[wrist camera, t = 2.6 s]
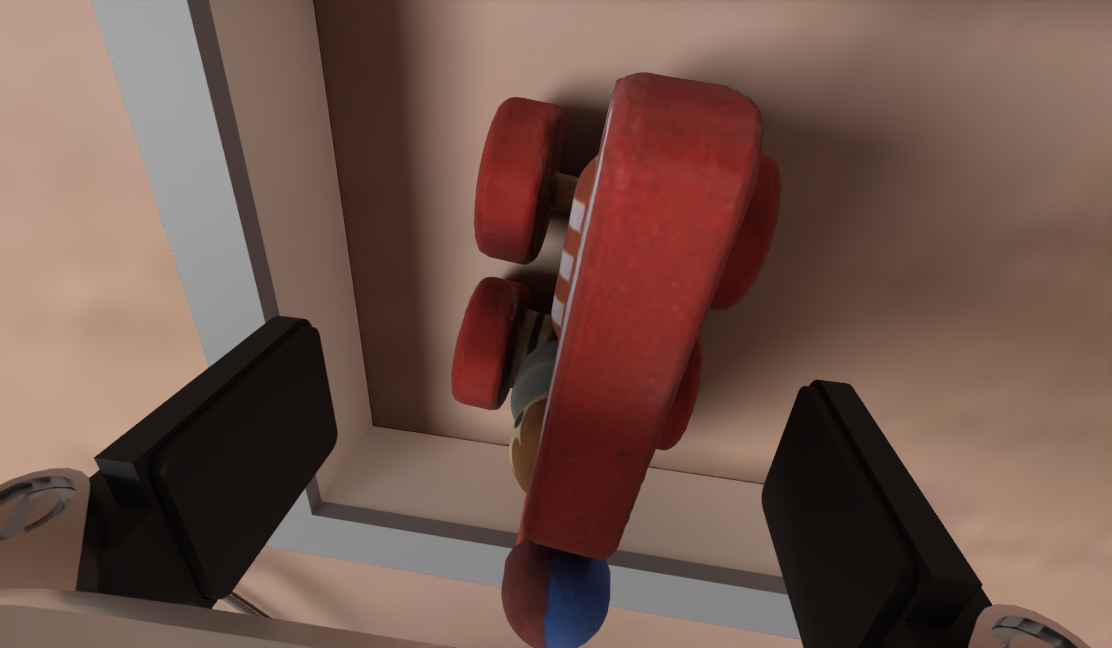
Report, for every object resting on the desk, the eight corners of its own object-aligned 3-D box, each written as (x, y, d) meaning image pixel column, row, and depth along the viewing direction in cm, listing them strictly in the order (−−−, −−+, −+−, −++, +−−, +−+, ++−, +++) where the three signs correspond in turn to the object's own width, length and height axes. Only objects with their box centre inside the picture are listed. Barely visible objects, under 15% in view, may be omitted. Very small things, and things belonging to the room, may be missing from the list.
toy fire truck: (472, 392, 20) (331, 691, 11) (529, 26, 13) (305, -4, 4) (648, 437, 19) (657, 779, 10) (787, 88, 13) (1101, 185, 4)
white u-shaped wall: (1107, -122, 11) (1390, -220, 7) (808, 530, 20) (850, 648, 16) (210, -161, 12) (8, -258, 8) (332, 455, 22) (265, 546, 18)
